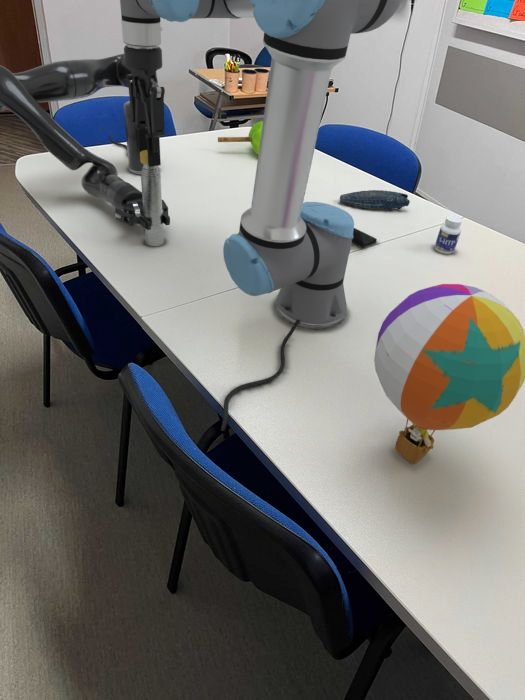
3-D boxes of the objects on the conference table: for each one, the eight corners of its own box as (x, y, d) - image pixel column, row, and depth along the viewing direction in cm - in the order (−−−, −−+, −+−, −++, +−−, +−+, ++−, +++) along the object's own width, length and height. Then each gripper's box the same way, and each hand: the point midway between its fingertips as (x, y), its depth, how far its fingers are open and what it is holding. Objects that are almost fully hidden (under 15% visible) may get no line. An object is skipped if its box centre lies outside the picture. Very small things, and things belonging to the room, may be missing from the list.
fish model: (408, 214, 157) (412, 198, 153) (339, 207, 158) (341, 191, 154) (406, 206, 162) (410, 190, 159) (339, 199, 163) (341, 183, 160)
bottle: (156, 236, 134) (151, 151, 121) (167, 242, 132) (163, 156, 119) (141, 241, 132) (135, 155, 118) (153, 248, 129) (147, 160, 116)
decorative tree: (215, 117, 188) (295, 117, 193) (215, 147, 195) (292, 146, 200) (221, 131, 174) (307, 131, 180) (221, 163, 181) (304, 161, 186)
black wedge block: (381, 233, 141) (372, 211, 133) (369, 255, 140) (359, 235, 132) (344, 225, 147) (334, 203, 139) (333, 246, 146) (321, 226, 138)
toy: (323, 444, 83) (359, 283, 64) (398, 394, 94) (448, 243, 75) (425, 531, 72) (504, 368, 53) (497, 463, 83) (584, 307, 64)
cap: (151, 157, 121) (151, 148, 120) (163, 162, 119) (162, 153, 118) (136, 160, 119) (135, 151, 118) (147, 166, 117) (147, 157, 115)
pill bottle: (433, 251, 139) (442, 220, 133) (435, 243, 143) (444, 213, 137) (453, 256, 138) (464, 225, 132) (454, 247, 142) (465, 217, 136)
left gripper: (99, 190, 130) (131, 215, 120) (150, 180, 138) (184, 203, 128) (102, 218, 135) (133, 244, 125) (151, 207, 142) (184, 231, 132)
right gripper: (179, 53, 101) (182, 172, 116) (141, 37, 112) (148, 148, 126) (144, 54, 97) (151, 177, 112) (108, 38, 108) (119, 152, 123)
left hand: (158, 223), depth 126 cm, fingers closed on bottle, 4 cm apart
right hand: (149, 161), depth 119 cm, fingers closed on cap, 4 cm apart
